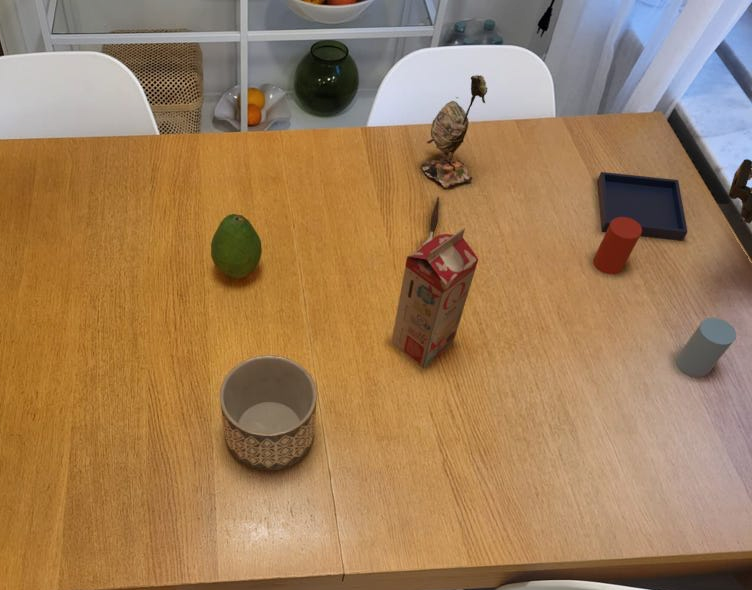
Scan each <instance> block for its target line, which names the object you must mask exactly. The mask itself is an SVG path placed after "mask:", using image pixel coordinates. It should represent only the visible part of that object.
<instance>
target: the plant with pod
mask: <svg viewBox="0 0 752 590" xmlns="http://www.w3.org/2000/svg"><path fill="white" fill-rule="evenodd" d="M470 80H471V82H470V94H471V97H470V103H469V106H468V107H467V110H466V112H465V110H464V108H463V107H462V106H460V105H459V103H458V102H457V101H455V100H451V101H449V102H447V103H446V104H444V106H443V107H441V109H440V110H439V111H438V113H437V114H436V115H435V117H434V119H432V121H431V122H432V123H431V129H430V137H431V138H430V139H428V140H426V144H431V143H433V142H434V144H435V146H436V149H438V150H440V151H441V153H443V154H440V156H439V157H438V158H435V159H433V160H428V161H427V162H423V163H422V164H420V168H421V170H422V171H423V172H424V174H426V176H427V177H429V178H432V179H434V180H435V181H436V182H439V183H440V184H441V186H442V187H443V188H450V187H453V185H457V184H460V183H462V184H463V183H465V182H467V183H468V182H472V180H473V177H472V176H471V174H469V171H468V169H467V165H465V163H464V162H462V160H459V159H456V158H454V154H455V153H456V152H457V150H458V149H459V148H460V147H461V146H462V144H463V143H464V140H465V136H466V135H467V131H468V128H469V118H468V115H469V113H470V111H471V107H472V106H473V104H474V101H475V99H476V97H479V98H481V102H482V103H483V104H486V99H485V96H486V95H487V93H488V90H489V89H488V87H487V82H486V80H485V77H484V75H480V74H479V75H478V74H475V75H472V76H470ZM455 98H456V99H459V97H458V96H457V97H456V96H455Z"/></svg>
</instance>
